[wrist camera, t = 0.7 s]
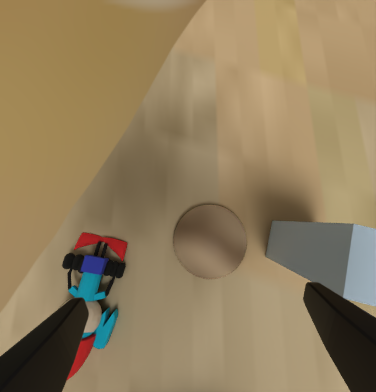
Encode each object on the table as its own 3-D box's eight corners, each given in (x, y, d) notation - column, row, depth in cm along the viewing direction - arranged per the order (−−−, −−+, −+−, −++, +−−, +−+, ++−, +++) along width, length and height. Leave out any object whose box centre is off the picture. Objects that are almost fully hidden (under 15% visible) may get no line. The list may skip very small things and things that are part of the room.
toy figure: (83, 232, 26) (40, 360, 22) (63, 228, 21) (4, 392, 17) (137, 242, 26) (105, 371, 22) (130, 241, 21) (87, 405, 17)
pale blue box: (310, 267, 23) (438, 322, 11) (265, 256, 23) (343, 298, 11) (316, 231, 23) (445, 245, 12) (272, 220, 24) (353, 223, 12)
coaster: (237, 285, 23) (238, 287, 22) (166, 267, 23) (165, 268, 23) (251, 214, 24) (253, 213, 23) (183, 197, 24) (183, 197, 24)
